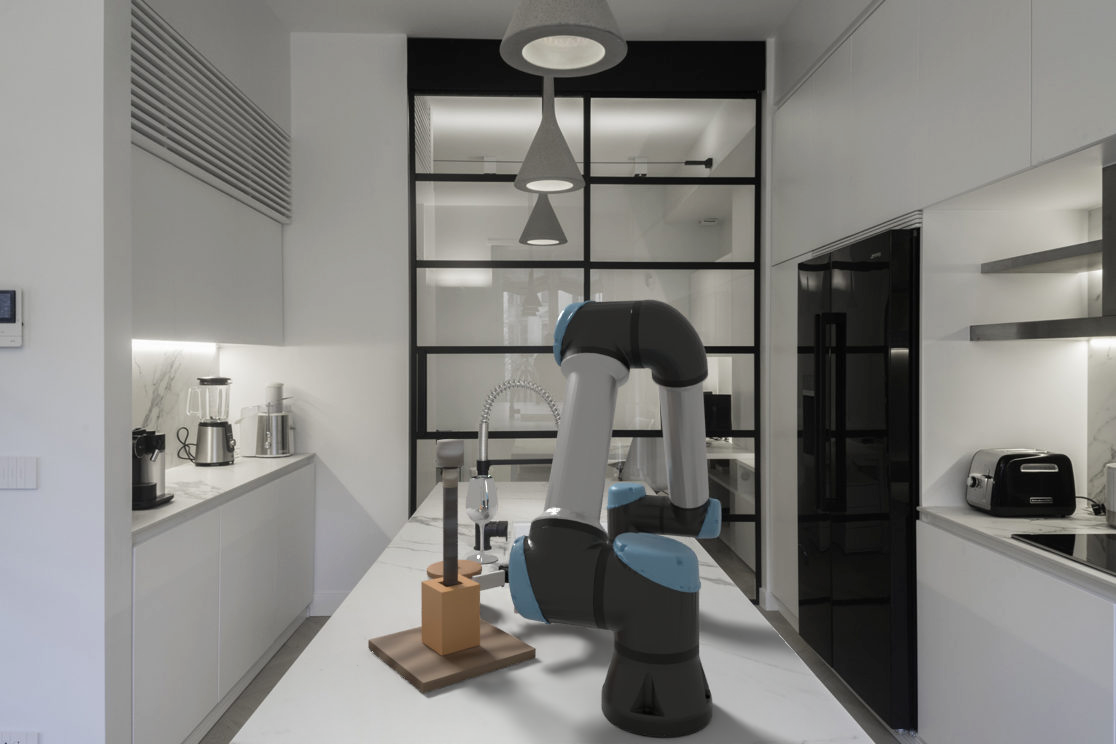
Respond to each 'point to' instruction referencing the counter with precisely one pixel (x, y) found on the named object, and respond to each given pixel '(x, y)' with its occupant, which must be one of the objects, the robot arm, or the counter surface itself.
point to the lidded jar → (464, 569)
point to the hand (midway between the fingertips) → (493, 594)
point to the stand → (407, 645)
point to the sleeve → (450, 615)
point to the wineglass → (481, 510)
